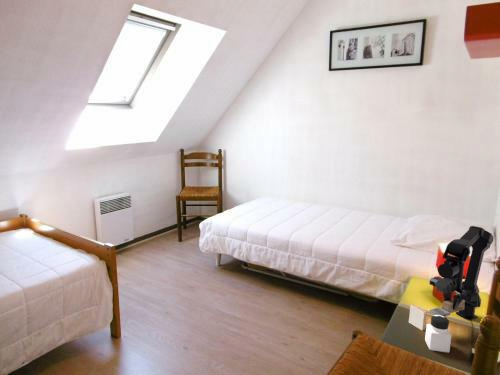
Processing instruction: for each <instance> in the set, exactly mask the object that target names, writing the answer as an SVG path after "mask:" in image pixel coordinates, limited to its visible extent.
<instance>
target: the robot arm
mask: <svg viewBox="0 0 500 375" xmlns="http://www.w3.org/2000/svg"><path fill="white" fill-rule="evenodd" d="M494 239H495V238H494V235H493V233H491V232H489V231H488V230H486V229H485V228H483V227H481V226H476V225H472V226H471V225H470V226H469V228H468V230H467V231H466V232H465V233H464V234H463V235H462V236H461V237H460V238H457V239H453V240H451V241H450V242H449V243H447V245H446V247H445V250H444V252H443V255H442V259H444V261H443V263H441V264H440V265H438V267H437V272H438V275H439V276H435V277H431V278H430V279H429V283H428V284H429V285H430V286H432V287H435V288H436V291H438V292H440V293H442V296H443V299H444V301H448V300H452V298H453V299H454V303H453V310H456V308H457V307H458V306H459V304H460V303H461V302H462V300H465V306H464V310H461V311H457V312H455V314H456V315H458V316H459V317H461V318H464V319H466V320H469V321H470V320H474V319H478V318H479V317H478V315H476V314H475V312H476V309H477V308H480V307H481V304H482V298H481V296H480V288H479V286H478V279H479V275H480V271H481V269H482V268H481V267H482V263H483V258H484V255H485V252H486V251H487V250H489V249H490V248H491V245H492V244H493V242H494ZM470 248H472V250H471V249H470ZM469 257H470V258H469ZM468 259H469V262H468V265H467V270H466V274H465V275H464V273H465V272H464V271H465V263H466V262H467V261H468ZM463 280H464V281H463ZM454 292H455V294H454V295H453V293H454Z"/></svg>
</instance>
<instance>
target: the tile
mask: <svg viewBox="0 0 500 375" xmlns="http://www.w3.org/2000/svg"><path fill="white" fill-rule="evenodd" d="M427 314H428V313H427V311H426V310H424V309H422V308H420V307H418V306H416V305H415V304H410V306H409V317H408V323H409V324H410V325H413V326H414V327H416V329H419V330H420V331H426V325H427V323H426V322H427Z"/></svg>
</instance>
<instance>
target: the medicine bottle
mask: <svg viewBox="0 0 500 375" xmlns="http://www.w3.org/2000/svg"><path fill="white" fill-rule="evenodd" d="M449 324H450V320H449V318H447V316H445V317H444V316H441V315H434V314H433V315H432V316H431V318H430V323H426V325H425V334H424V335H425V337H424V340H425V343H426V345H427V347H428V350H430V351H433V352H435V351H436V352H442V353H450V351H451V344H452V338H453V337H452V333H451V332H450V331H449Z"/></svg>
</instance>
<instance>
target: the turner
mask: <svg viewBox="0 0 500 375" xmlns="http://www.w3.org/2000/svg"><path fill="white" fill-rule="evenodd" d="M453 303H454V298H453V299H452V298H451V300H448V301H445V300H444V301H442V305H441V306H442V307H440V306H439V307H436V308H432V309H431V308H430V309H429V313H431V314H433V315H441V316H444V317H448V316H451V314H452V313H456V312H459V311H461V310H464V306H465V300H462V302H461V303H460V304H459V306H458V307H457V308H456V310H453Z"/></svg>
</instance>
